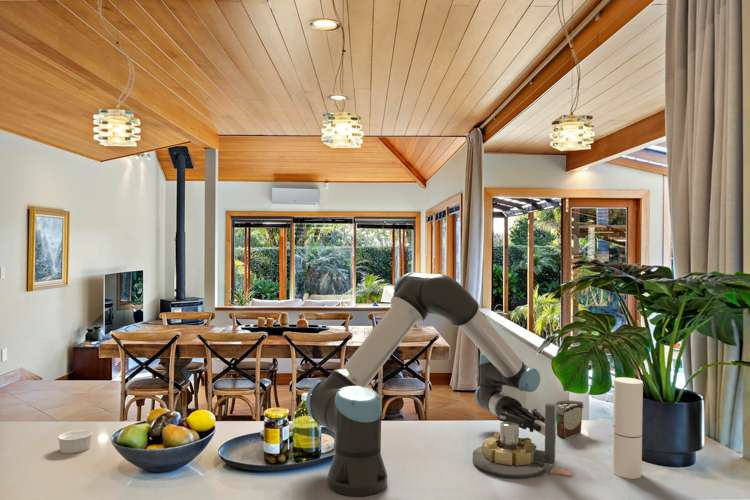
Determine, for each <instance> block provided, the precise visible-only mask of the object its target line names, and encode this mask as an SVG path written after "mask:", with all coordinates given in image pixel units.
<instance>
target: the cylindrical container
mask: <svg viewBox="0 0 750 500" xmlns="http://www.w3.org/2000/svg"><path fill="white" fill-rule="evenodd" d="M643 390H644V382H643V380H641V379H638V378H632V377H625V376H624V377H623V376H622V377H614V378H613V405H612V406H613V410H612V413H613V414H612V418H613V419H612V466H611V467H612V469H611V470H612V473H613V474H614V475H616V476H617V477H621V478H625V479H629V480H630V479H632V480H633V479H641V478H642V469H643V467H642V465H643V463H642V459H643V455H642V453H643V406H644V405H643V404H644V403H643V401H644V398H643V397H644V395H643V394H644V391H643Z"/></svg>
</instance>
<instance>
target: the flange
mask: <svg viewBox="0 0 750 500" xmlns="http://www.w3.org/2000/svg"><path fill="white" fill-rule="evenodd" d="M499 424H500V425H499V430H500V432H499V433H500V448H502V449H508V450H515V448H516V447H517V446H519V438H520V436H519V434H520V429H519V428H520V427H519V425H518V424H517V423H514V422H503V421H501V422H500V423H499ZM472 464H473V466H474V467H475V468H476V469H478V470H480V471H481V472H483V473H486V474H488V475H491V476H494V477H498V478H504V479H512V480H513V479H514V480H515V479H516V480H523V479H527V480H528V479H532V478H536V477H540V476H542V475H544V474H545V473H546V471H547V467H548V466H547V465H548V464H547V463H541V462H535V461H534V462H533V463H532V462H531V464H525V465H518V466H516V465H514V464H513V465H506V464H500V463H495V461H490V460H489V459H487V458H486V457H485V456H483V454H482V445H481V446H480V447H477V448H476V449H474V450H473V452H472Z"/></svg>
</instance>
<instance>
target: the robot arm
mask: <svg viewBox="0 0 750 500" xmlns="http://www.w3.org/2000/svg"><path fill="white" fill-rule="evenodd" d="M393 291H394V292H393V293H392V294H393V296H392V297H391V299H390V304H391V305H390V306H391V307H390V308H389V309H388V310H387V312H386V313H385V314H384V315H383V317H382V318H381V319H380V320H379V321H378V323H377V324H376V326H374V328H373V329H372V330H371V332H370V333H369V335H367V337H366V338H365V339H364V341H362V343H361V344H360V345H359V347H358V348H357V349H356V350H355V352H354V353H353V354H352V356H351V357H350V358H349V359H348V361H347V362H346V363H345V364H344V366H343V367H342V368H340V369H334V370H333V371H332V372H331V373H330V375H329V376H328V377H327V378H326V379H321V380H318V381H316V382H315V383H313V384H312V385H311V387H310V388H309V390H308V392H307V395H306V398H305V399H306V400H305V404H306V406H305V407H306V411H307V413H308V415H309V416H310V417H311V419H312V420H314V421H315V423H317V425H319V426H321V427H322V426H323V427H324V428H326V429H328V430H329V431H331V432H333V434H334V446H335V447H334V454H333V458H332V461H331V464H330V467H329V469H328V474H327V487H328V488H329V489H330V490H331V491H333V492H335V493H337V494H340V495H343V496H349V497H350V496H351V497H364V496H371V495H374V494H377V493H380V492H383V490H385V489H386V488H387V486H388V473H387V469H386V466H385V462H384V460H383V457H382V450H381V449H382V413H383V409H382V398H381V396H380V394H379V393H378V392H376V391H375V390H374V389H372V388H370V387H368V386H369V384H370V383H371V381H373V379H374V378H375V376H376V375H377V374H378V373H379V371H380V370H381V368H382V367H383V366H384V365H385V364H386V362H387V361H388V360H389V359H390V358H391V355H393V353H394V352H395V350H396V349H397V348H398V346H399V345H400V344H401V342H402V341H403V340H404V339H405V337H406V336H407V335H408V334H409V332H410V331H411V329H412V328H413V327H414V325H421V324H422V323H424V321H425V320H426V319H427V317H428V316H429V314H433V315H438V316H441V317H443V318H444V319H446V320H448V322H450V324H451V325H452V326H454V327H459V329H461V330H462V331H463V332H464V334H465V335H466V336H467V337H468V338H469V339H470V341H471V342H472V343H473V344H474V345H475V347H477V348H478V349H479V351H480V355H479V385H478V387H477V388H476V390H475V391H474V396H473V397H474V398H473V399H474V401H475V403H476V404H477V405H478V406H479V407H481V408H482V409H483V410H486V411H488V412H489V413H491V414H492V415H493V416H495V417H496V418H499V422H514V423H517V424H518V425H519V428H520V429H522V430H527V429H529V433H534V431H535V432H538V433H539V434H541V435H543V436H544V437H545V416H543V415H542V414H541V413H540V412H538V409H537V408H533V409H531V410H529V409H528V408H526V407H524V406H523V405H522V404H521V402H520V400H518V399H516V398H514V397H512V396H511V395H508V394H505V393H504V390H503V389H504V388H503V387H504V386H506V387H510V388H513V389H516V390H517V391H518V390H519V391H520V392H527V393H533V392H535V391H536V390H537V389H538V388H539V386H540V384H541V374H540V372H539V370H538V369H537V368H534V367H532V366H528V365H526V364H525V362H523V360H522V359H521V358H520V357H519V355H518V354H517V353H516V352H515V351H514V349H512V347H511V346H510V345H509V343H507V341H506V340H505V339H504V337H503V336H501V334H500V333H499V332H498V331H497V330H496V328H495V327H494V326H493V325H492V324H491V322H490V320H488V319H487V318H486V316H485V315H484V314H483V313H482V311H480V305H479V302H478V301H477V299H475V298H474V297H473V296H472V294H471V293H470V292H469V291H468V290H467V289H466V288H465V287H464V286H463V285H462V284H460V283H459V282H458V281H457V280H455V279H454V278H452V277H451V276H448V275H446V274H441V273H427V272H426V273H425V272H421V271H413V272H408V273H406V274H404V275H402V276H400V277H399V278H398V279H397V281H396V282H395V285H394V287H393ZM311 394H312V395H311Z"/></svg>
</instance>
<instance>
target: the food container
mask: <svg viewBox="0 0 750 500" xmlns="http://www.w3.org/2000/svg"><path fill="white" fill-rule="evenodd" d="M554 404H556V436H557V437H559V438H560V439H563V440H568V439H569V438H572V437H575V436H577V435H580V434H581V433H582V423H583V422H582V420H583V409H584V403H583V401H578V400H567V399H565V400H563V399H562V400H558V401H555V402H554Z"/></svg>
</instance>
